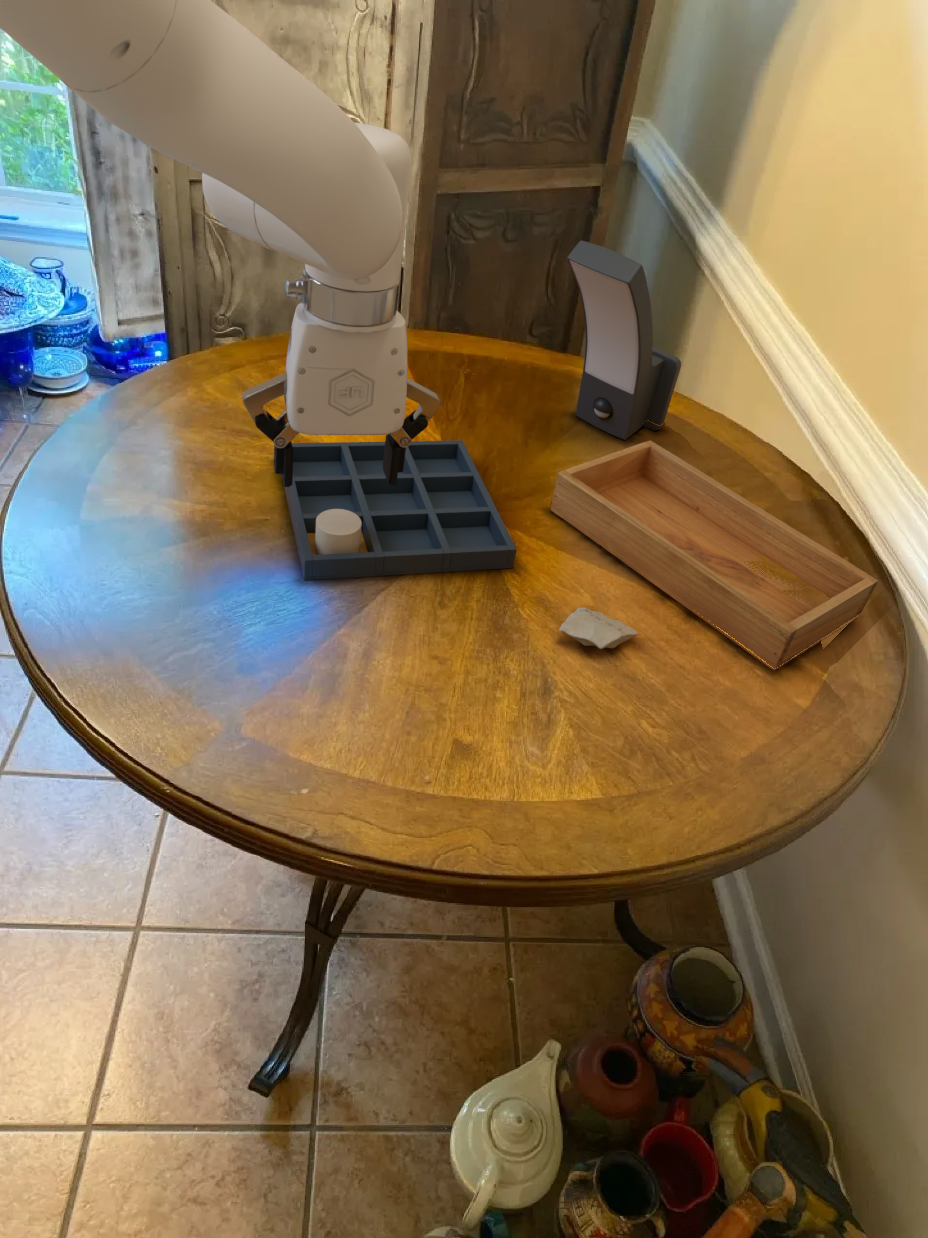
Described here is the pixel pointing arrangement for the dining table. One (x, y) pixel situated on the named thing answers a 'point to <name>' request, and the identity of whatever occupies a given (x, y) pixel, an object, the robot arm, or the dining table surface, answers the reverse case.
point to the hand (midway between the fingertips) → (338, 478)
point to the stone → (596, 629)
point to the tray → (710, 549)
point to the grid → (397, 510)
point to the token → (337, 532)
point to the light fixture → (619, 345)
